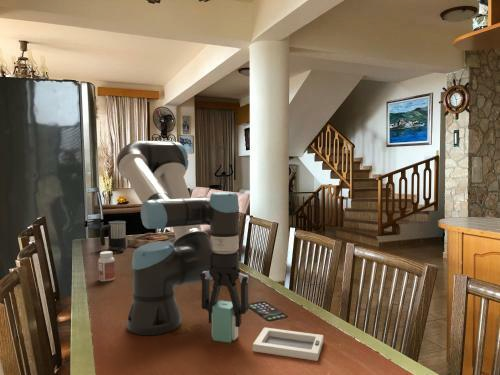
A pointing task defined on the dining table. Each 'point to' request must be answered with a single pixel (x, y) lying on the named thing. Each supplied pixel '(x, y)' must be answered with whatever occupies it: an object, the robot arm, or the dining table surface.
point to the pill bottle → (106, 266)
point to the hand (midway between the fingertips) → (224, 336)
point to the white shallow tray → (289, 343)
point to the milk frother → (114, 235)
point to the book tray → (141, 240)
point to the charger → (222, 321)
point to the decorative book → (158, 238)
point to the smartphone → (266, 311)
